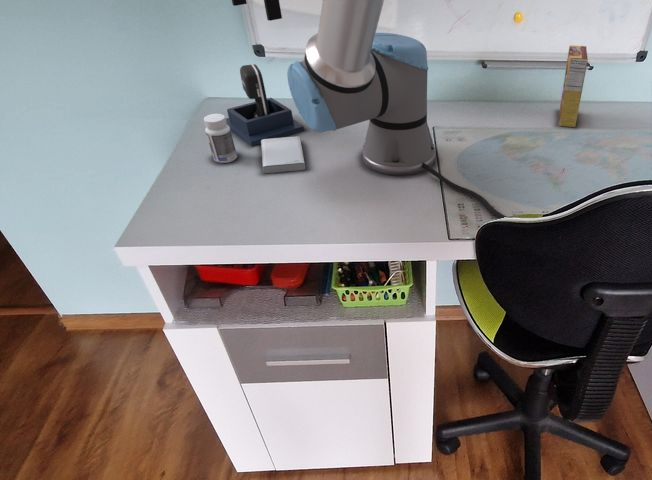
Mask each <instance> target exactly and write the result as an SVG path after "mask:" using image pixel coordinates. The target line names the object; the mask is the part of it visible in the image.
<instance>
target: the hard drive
mask: <svg viewBox="0 0 652 480" xmlns="http://www.w3.org/2000/svg"><path fill="white" fill-rule="evenodd" d="M260 146H261V161H262V170H263V174H264V173H265V174H274V173H284V172H297V171H304V170H306V163H305V158H304V157H305V156H304V152H303V147H302V141H301V137H300V136H284V137H280V138H272V139H263V140H261V145H260Z"/></svg>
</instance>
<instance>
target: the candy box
mask: <svg viewBox="0 0 652 480" xmlns="http://www.w3.org/2000/svg"><path fill="white" fill-rule="evenodd" d="M588 61H589V58H588V51H587V46H585V45H575V44H574V45H573V44H571V45H569V47H568V54H567V60H566V66H565V72H564V79H563V85H562V92H561V99H560V104H559V105H560V106H559V119H558V120H559V121H558V126H559V127H568V128H576V125H577V119H578V114H579V109H580V104H581V99H582V93H583V88H584V82H585V77H586V71H587V68H588Z"/></svg>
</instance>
